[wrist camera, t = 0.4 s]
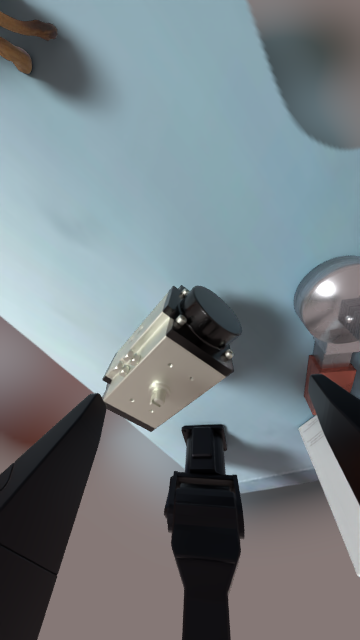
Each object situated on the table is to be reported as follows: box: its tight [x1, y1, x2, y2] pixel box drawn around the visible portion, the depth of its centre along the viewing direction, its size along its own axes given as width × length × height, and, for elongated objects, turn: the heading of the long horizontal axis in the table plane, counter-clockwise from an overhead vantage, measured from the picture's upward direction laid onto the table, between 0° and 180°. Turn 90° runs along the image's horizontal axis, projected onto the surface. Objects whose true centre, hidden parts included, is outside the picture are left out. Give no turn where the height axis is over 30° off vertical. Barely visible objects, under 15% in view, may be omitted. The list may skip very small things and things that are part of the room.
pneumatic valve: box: [102, 285, 242, 432], centre depth 18 cm, size 6×12×12 cm, turn 142°
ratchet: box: [294, 256, 360, 415], centre depth 21 cm, size 19×8×6 cm, turn 11°
